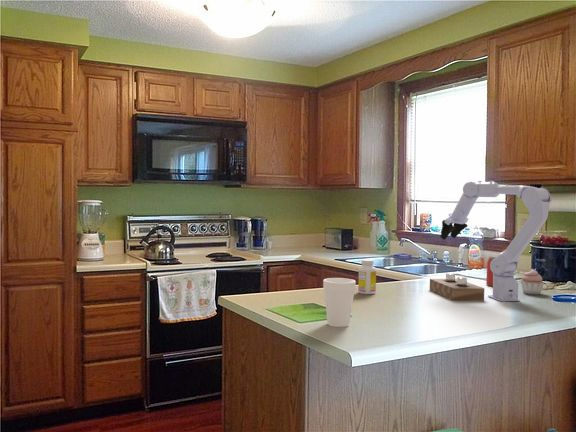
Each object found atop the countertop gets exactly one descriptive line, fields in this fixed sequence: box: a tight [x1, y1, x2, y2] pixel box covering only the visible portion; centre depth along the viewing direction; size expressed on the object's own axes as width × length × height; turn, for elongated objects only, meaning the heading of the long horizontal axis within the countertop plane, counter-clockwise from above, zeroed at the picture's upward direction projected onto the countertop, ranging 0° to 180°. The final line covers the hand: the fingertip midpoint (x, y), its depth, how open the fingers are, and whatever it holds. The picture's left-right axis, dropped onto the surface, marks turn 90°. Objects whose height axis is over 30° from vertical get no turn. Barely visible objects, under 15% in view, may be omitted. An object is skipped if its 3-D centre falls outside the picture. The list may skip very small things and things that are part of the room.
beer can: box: [485, 256, 498, 288], centre depth 240 cm, size 7×7×12 cm
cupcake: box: [519, 268, 545, 296], centre depth 223 cm, size 9×9×10 cm
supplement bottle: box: [357, 259, 377, 295], centre depth 216 cm, size 7×7×13 cm
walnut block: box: [429, 278, 485, 302], centre depth 216 cm, size 22×12×4 cm, turn 8°
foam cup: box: [322, 277, 357, 328], centre depth 164 cm, size 10×9×13 cm
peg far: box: [445, 272, 456, 282], centre depth 221 cm, size 4×4×4 cm
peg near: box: [456, 276, 468, 287], centre depth 211 cm, size 4×4×4 cm
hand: (447, 237), depth 229 cm, fingers open, 7 cm apart
